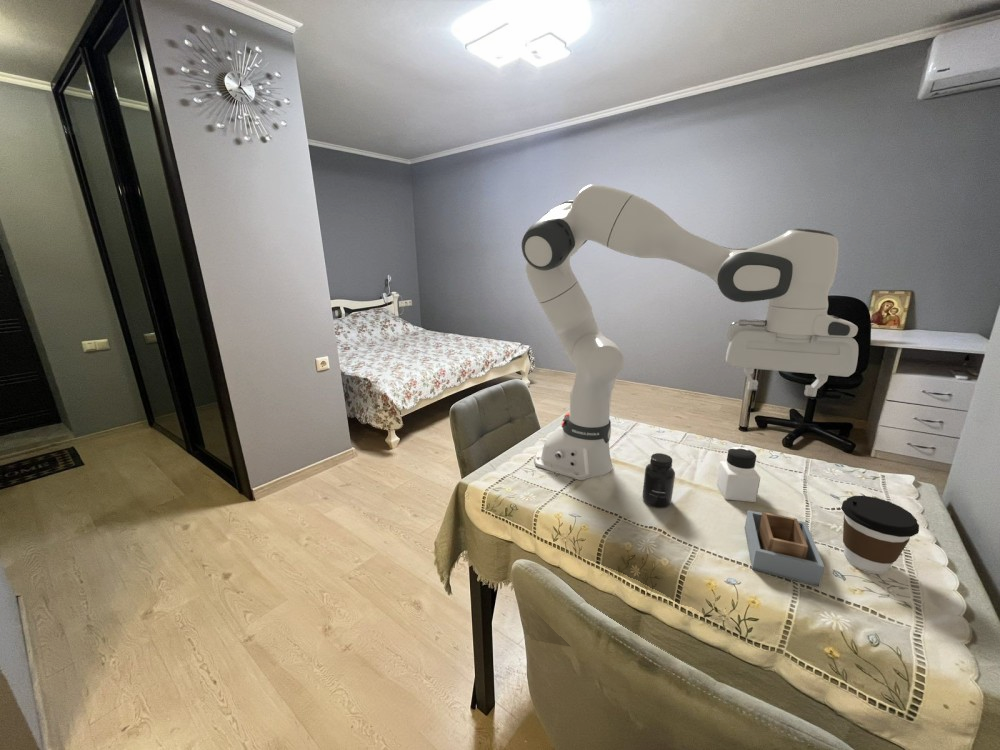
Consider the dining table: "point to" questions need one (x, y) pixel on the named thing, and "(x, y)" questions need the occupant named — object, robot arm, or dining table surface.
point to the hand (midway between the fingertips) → (780, 392)
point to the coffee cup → (875, 532)
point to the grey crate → (780, 563)
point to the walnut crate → (782, 535)
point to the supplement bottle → (659, 481)
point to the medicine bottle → (738, 475)
